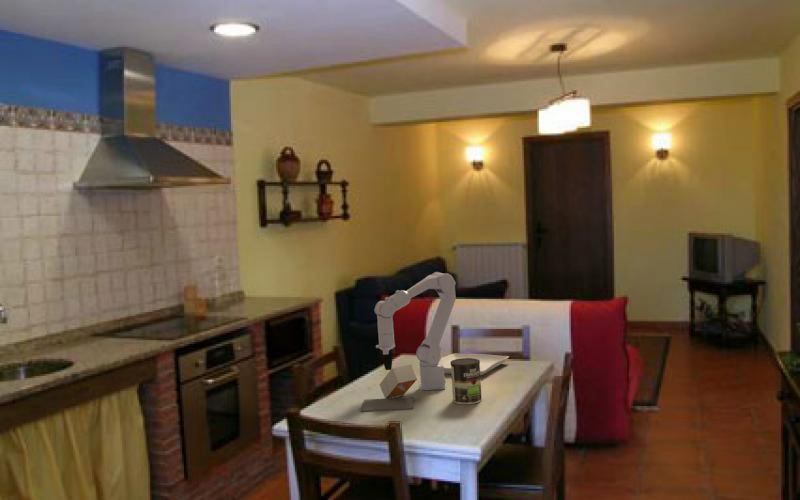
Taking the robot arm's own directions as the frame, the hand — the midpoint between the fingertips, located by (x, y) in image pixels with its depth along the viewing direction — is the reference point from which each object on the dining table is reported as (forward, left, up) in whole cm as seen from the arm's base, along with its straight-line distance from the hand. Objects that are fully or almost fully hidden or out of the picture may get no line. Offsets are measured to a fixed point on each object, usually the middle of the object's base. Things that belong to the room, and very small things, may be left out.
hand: (388, 369), depth 268 cm
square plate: (-31, -34, -10) cm, 46 cm away
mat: (0, +14, -9) cm, 17 cm away
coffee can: (-28, +13, -10) cm, 32 cm away
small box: (-1, +3, -7) cm, 8 cm away
